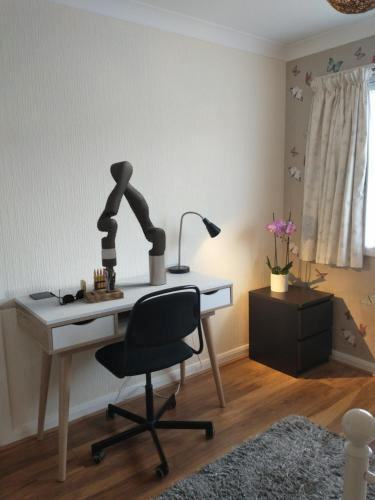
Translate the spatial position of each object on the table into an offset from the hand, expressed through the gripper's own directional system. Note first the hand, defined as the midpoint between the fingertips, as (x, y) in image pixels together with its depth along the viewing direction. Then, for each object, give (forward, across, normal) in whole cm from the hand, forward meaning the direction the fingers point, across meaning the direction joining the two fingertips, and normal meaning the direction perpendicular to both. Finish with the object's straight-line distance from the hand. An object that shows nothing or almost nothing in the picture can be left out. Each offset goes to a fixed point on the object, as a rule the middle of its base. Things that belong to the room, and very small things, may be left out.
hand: (110, 289), depth 212 cm
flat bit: (+4, +11, +12) cm, 17 cm away
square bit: (+2, 0, 0) cm, 2 cm away
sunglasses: (+5, +7, +22) cm, 24 cm away
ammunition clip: (+4, +19, -1) cm, 20 cm away
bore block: (+4, 0, +4) cm, 6 cm away
